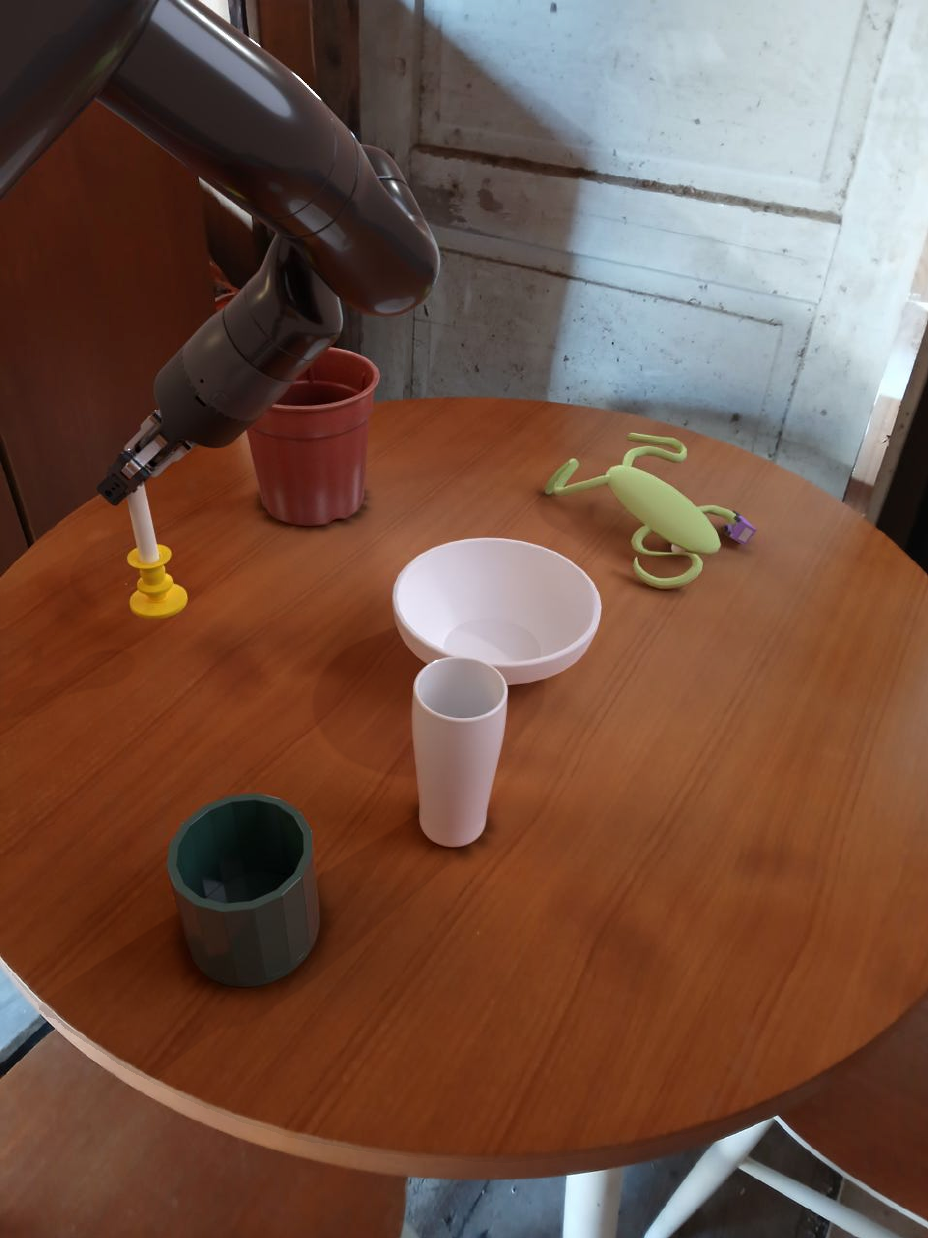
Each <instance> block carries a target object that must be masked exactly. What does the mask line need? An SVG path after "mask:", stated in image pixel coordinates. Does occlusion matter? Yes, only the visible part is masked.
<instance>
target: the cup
mask: <svg viewBox="0 0 928 1238" xmlns="http://www.w3.org/2000/svg"><path fill="white" fill-rule="evenodd" d="M167 850H168V851H167V859H166V867H165V868H166V871H167V875H168V879H169V883H170V887H171V890H172V895H173V898H174V902H175V905H176V909H177V913H178V917H179V922H180V925H181V929H182V932H183V935H184V939H185V942H186V945H187V947H188V950H189V954H190V956H191V959H192V961H193V962H194V964H195V965H196V967H197V968H198V969H199V970H200V971H201V972H202V973H203V974H204V975H205V976H207V977H208V978H209V979H211V980H213V981H215V982H217V983H219V984H222V985H225V986H229V987H236V988H253V987H259V986H263V985H266V984H270V983H273V982H275V981H277V980H279V979H281V978H283V977H285V976H287V975H288V974H290V973H291V972H292V971H294V970H296V968H297V967H299V966H300V965H301V964H302V962H304V961H305V959H306V958H307V957H308V956H309V954H310V953H311V951H312V949H313V947H314V946H315V943H316V941H317V938H318V935H319V931H320V921H321V917H320V900H319V890H318V880H317V867H316V859H315V848H314V836H313V830H312V828H311V827H310V825H309V824H308V821H307V819H306V818H305V817H304V815H303V813H302V812H301V811H300V810H299V809H297V808H296V807H294V806H293V805H291V804H290V803H289V802H287V801H285V800H284V799H283V798H282V799H281V798H280V797H275V796H270V795H266V794H261V793H257V792H256V793H255V792H254V793H243V794H231V795H227V796H225V797H223V798H220V799H217V800H214V801H212V802H210V803H207V804H205V805H203V806H201V807H200V808H199V809H197V811H195V812H194V813H193V814H192V815H190V816H189V817H187V818H186V819H185V820H184V821H183V822H182V823H181V824H180V826H179V827H178V829H177V831H176V833H175V834H174V835H173V838H172V839H171V841H170V843H169V844H168V849H167Z"/></svg>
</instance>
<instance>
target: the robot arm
mask: <svg viewBox="0 0 928 1238" xmlns="http://www.w3.org/2000/svg"><path fill="white" fill-rule="evenodd" d="M94 101H96V102H98V103H99V104H101V105H102V106H103V107H105V108H106V109H108V110H109V111H110V112H112V113H113V114H115V115H116V116H118V117H119V118H120V119H122V120H123V121H124V122H126V123H127V124H129V125H130V126H132V127H133V128H134V129H136V130H137V131H138V132H139V133H140V134H142V135H144V136H145V137H146V138H147V139H148V140H150V141H151V142H153V143H154V144H156V146H158V147H159V148H160V149H162V150H163V151H164V152H166V153H167V154H168V155H170V156H171V157H172V158H174V159H175V160H176V161H178V162H179V163H180V164H181V165H183V166H184V167H185V168H186V169H188V170H189V171H190V172H191V173H193V174H194V175H196V177H198V178H200V180H202V181H204V182H205V183H206V184H208V186H210V187H211V188H213V189H214V190H215V191H216V192H218V193H219V194H220V195H222V196H223V197H225V198H226V199H227V200H229V201H230V202H231V203H232V204H234V205H235V206H237V207H238V208H239V209H240V210H242V211H244V212H245V213H246V214H248V215H249V216H251V217H252V218H253V219H255V220H256V221H258V222H260V224H262V225H263V226H265V227H266V228H268V229H269V230H271V231H272V232H274V233H275V234H274V237H273V238H272V241H271V243H270V244H269V247H268V249H267V252H266V253H265V256H264V258H263V261H262V263H261V266H260V267H259V269H258V270H257V271H256V272H255V274H254V275H253V276H252V277H251V278H250V279H249V280H248V281H247V282H246V283H245V284H244V285H243V286H242V287H241V288H240V289H239V291H237V293H236V294H235V295H234V296H233V297H232V298H231V299H230V300H229V301H228V302H227V304H226V305H224V306H223V307H221V309H220V310H218V311H217V312H215V313H214V314H212V316H210V317H209V318H208V319H207V320H206V321H205V322H204V323H202V325H201V326H200V327H199V328H198V329H197V330H196V331H195V332H194V333H193V334H192V336H190V338H189V339H188V340H187V341H186V342H185V343H184V344H183V345H182V347H180V349H179V350H178V351H177V352H175V354H174V355H173V356H172V357H171V358H170V359H169V360H168V361H167V363H166V364H164V366H163V367H162V368H161V369H160V370H159V371H158V373H157V374H156V377H155V379H154V383H153V394H154V398H155V402H156V404H157V407H158V410H154V411H153V412H152V413H151V414H150V415H149V416H148V417H147V418H146V419H144V421H143V422H142V423H141V424H140V430H139V431H138V432H137V433H136V434H135V435H134V436H133V437H132V438H131V439H130V440H129V441H128V442H127V443H126V444H125V445H124V448H123V449H124V451H121V452H120V453H118V455H117V456H116V457H117V458H116V460H114V461H113V463H112V464H110V466H109V467H108V468H107V471H106V472H105V475H107V476H106V477H104V479H102V481H101V482H100V483H99V484H98V485H97V486H96V491H97V493H98V494H100V496H101V497H102V498H104V499H105V500H106V501H107V503H109V504H110V505H112V506H114V507H115V506H118V505H119V504H120V503H122V502H123V501H124V499H126V498H127V495H130V494H131V493H132V492H133V493H135V492H136V491H137V490H138V489H137V487H138V486H139V485H140V487H141V486H142V485H143V484H144V485H145V484H146V482H147V481H148V480H149V479H150V478H154V479H156V478H158V477H159V476H160V475H161V474H163V473H164V472H165V470H166V469H168V467H170V466H171V465H172V464H173V463H174V462H179V461H180V460H181V459H183V458H184V457H185V456H186V455H187V454H188V453H189V452H190V451H191V450H192V449H193V448H195V446H197V445H198V446H201V447H204V448H206V449H207V448H208V449H221V448H225V447H228V446H230V445H232V444H233V443H235V441H236V440H237V439H238V438H239V437H241V436H242V435H243V434H244V433H245V432H247V431H246V430H247V429H248V428H249V427H250V426H251V425H252V424H253V423H254V422H255V421H257V420H258V419H259V418H260V417H261V416H262V415H263V414H264V413H265V412H266V411H267V410H268V409H270V408H271V407H272V406H273V405H274V404H275V403H276V402H277V401H278V400H279V399H280V398H281V397H282V396H283V395H284V394H285V393H286V391H287V390H288V389H289V388H290V386H291V385H292V384H293V382H294V381H295V380H296V379H297V378H298V377H299V376H300V375H301V374H302V373H303V372H304V371H305V370H307V369H308V368H309V367H310V366H311V365H312V364H313V363H314V362H315V361H316V360H317V359H318V358H319V357H320V356H322V355H323V354H324V353H325V352H326V351H327V350H328V349H329V348H330V347H331V348H332V347H333V345H334V344H335V343H336V342H337V341H338V339H339V338H340V336H341V333H342V331H343V327H344V315H343V309H342V304H341V301H342V302H343V303H344V304H345V305H347V306H348V307H350V308H352V309H353V310H354V311H357V312H359V313H362V314H364V315H367V316H373V317H385V318H386V317H394V316H399V315H403V314H405V313H408V312H410V311H412V310H413V309H416V308H417V307H418V306H420V305H421V304H422V303H423V302H424V301H425V300H426V299H427V298H428V297H429V295H430V293H431V292H432V291H433V290H434V288H435V286H436V284H437V281H438V279H439V274H440V270H441V256H440V255H441V254H440V250H439V245H438V242H437V241H436V238H435V236H434V233H433V232H432V230H431V228H430V226H429V224H428V222H427V221H426V219H425V217H424V215H423V213H422V210H421V208H420V207H419V205H418V202H417V201H416V199H415V197H414V195H413V192H412V191H411V190H410V187H409V184H408V182H407V181H406V179H405V177H404V175H403V173H402V171H401V169H400V168H399V166H398V165H397V163H396V162H395V160H393V158H392V156H391V155H389V153H387V152H386V151H385V150H383V149H381V148H380V147H376V146H373V145H370V144H360V142H359V141H358V139H357V138H356V137H355V135H354V133H353V132H352V131H351V129H350V128H348V126H347V125H345V123H344V122H343V121H342V120H341V119H340V118H339V117H338V116H337V115H336V114H335V113H334V112H333V111H332V110H331V109H330V108H329V107H328V105H326V103H325V102H324V101H323V99H321V98H320V97H319V96H318V95H317V94H316V93H315V91H313V89H311V88H310V87H309V85H307V83H305V82H304V81H303V80H302V79H301V78H300V77H299V76H298V75H296V73H294V72H293V71H292V70H291V69H290V68H288V67H287V66H286V65H285V64H284V63H282V62H281V61H280V60H279V59H278V58H276V57H274V55H272V54H271V53H270V52H268V51H267V50H266V49H264V48H263V47H261V45H259V44H258V43H256V42H255V41H254V40H253V39H251V38H250V37H249V36H247V35H246V34H244V32H242V31H241V30H239V29H238V28H236V27H235V26H234V25H233V24H232V23H230V22H229V21H227V19H225V18H224V17H222V16H220V15H219V14H218V13H216V12H215V11H214V10H213V9H211V8H210V7H209V6H207V5H206V4H205V3H203V2H202V1H201V0H0V204H1V203H2V202H3V201H4V200H5V199H6V198H7V196H9V195H10V193H11V192H12V191H13V190H14V189H15V187H17V186H18V185H19V183H20V182H21V181H22V180H23V179H24V178H25V177H26V175H27V174H28V173H29V172H30V171H32V169H33V168H34V167H35V166H36V165H37V163H39V161H40V160H41V159H42V158H43V157H44V156H45V154H46V153H48V151H49V150H50V149H51V148H52V147H53V146H54V145H55V144H56V142H58V141H59V140H60V138H61V137H62V136H63V135H64V134H65V133H66V132H67V130H68V129H69V128H70V127H71V126H72V125H73V124H74V123H75V122H76V120H78V118H80V116H81V115H82V113H84V112H85V111H86V109H87V108H88V107H89V106H90V105H91V104H92V103H93V102H94Z"/></svg>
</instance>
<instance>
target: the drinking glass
mask: <svg viewBox="0 0 928 1238" xmlns="http://www.w3.org/2000/svg"><path fill="white" fill-rule="evenodd" d="M508 688H509V687H508V685H507V684H506V681H505V679H504V678H503V676H502V675H501V674H500V672H499V671H498V670H496V669H495V668H494V667H493V666H491V665H489V664H488V663H485V662H483V661H481V660H478V659H474V658H469V657H448V658H443V659H440V660H437V661H434V662H432V663H430V664H429V665H428V664H426V665H425V666H424V667H422V669H421V670H420V671H419V672H418V674H417V675H416V677H415V679H414V682H413V687H412V698H411V699H412V700H411V736H412V737H411V738H412V747H413V748H412V749H413V755H414V766H415V774H416V776H415V777H416V783H417V793H418V794H417V795H418V805H419V807H418V809H419V810H418V821H419V825H420V828H421V830H422V832H423V833H424V835H425V836H426V837H427V838H428V839H429V840H430V841H432V843H434V844H437V845H439V846H442V847H447V848H460V847H464V846H468V845H470V844H472V843H474V842H475V841H476V840H477V839H478V838H479V837H480V836H481V835H482V833H483V832H484V831H485V828H486V825H487V817H488V816H487V815H488V808H489V804H490V799H491V795H492V790H493V785H494V781H495V777H496V772H497V769H498V764H499V760H500V756H501V752H502V746H503V742H504V737H505V731H506V725H507V715H508V696H509V695H508V693H509V691H508V690H509V689H508Z"/></svg>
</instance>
